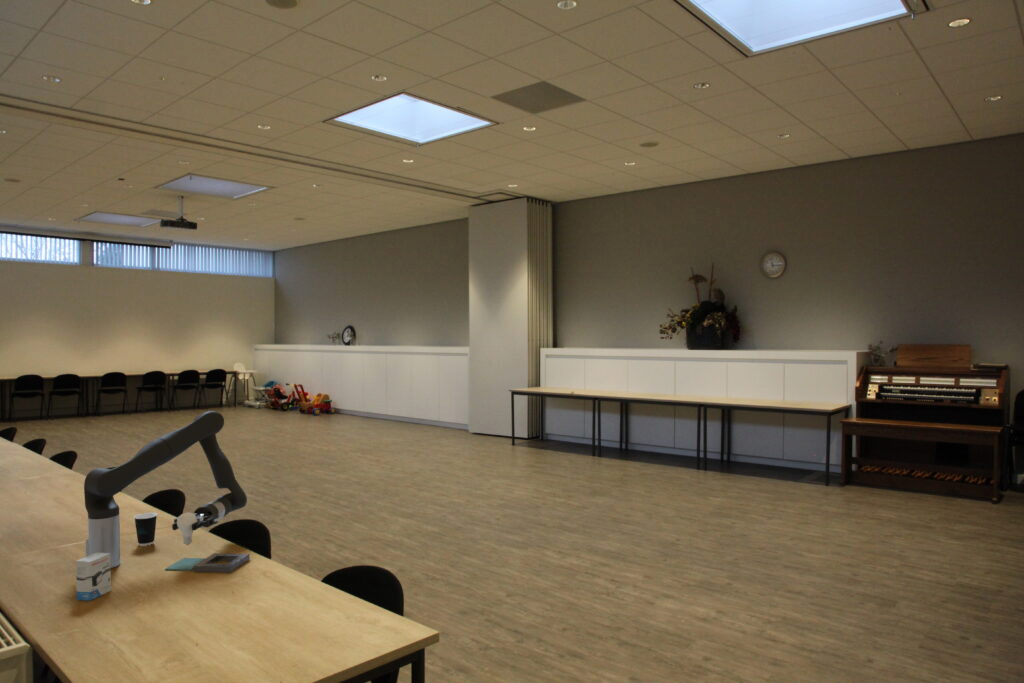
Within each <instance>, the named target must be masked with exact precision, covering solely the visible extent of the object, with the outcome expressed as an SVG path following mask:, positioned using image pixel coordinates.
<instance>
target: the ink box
mask: <svg viewBox="0 0 1024 683" xmlns="http://www.w3.org/2000/svg"><path fill="white" fill-rule="evenodd" d="M75 563H76V564H75V566H76V568H75V572H76V575H75V576H76V601H89V602H90V601H93V600H95V599H97V598H98V597H100V596H101V597H102V595H105V594H107V593H109V592H112V585H111V584H112V582H111V580H112V579H111V577H112V575H111V574H112V573H111V572H112V570H111V569H112V568H111V563H110V553H94V554H92V555H89V556H87V557H86V556H84V557H82V558H79V559H77V560H76V561H75Z"/></svg>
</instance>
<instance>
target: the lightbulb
mask: <svg viewBox="0 0 1024 683" xmlns="http://www.w3.org/2000/svg"><path fill="white" fill-rule="evenodd" d="M193 513H194V512H189V511H188V512H183V513H182V514H180V515H179V516H178V517H179V518H178V519H177V526H178V528H179V529H178V530H179V531H180V532H181V535H182V538H183V539H182V540H183V544H184V545H187V546H189V545H191V543H193V533H194V530H192V524H193V523H195V522H197V517H196V516H195V515H194V514H193Z"/></svg>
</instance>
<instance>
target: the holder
mask: <svg viewBox="0 0 1024 683" xmlns="http://www.w3.org/2000/svg"><path fill="white" fill-rule="evenodd" d="M248 560H249V561H250V554H249V553H224V552H223V553H212V554H210V555H209V556H207V557H206V559H204V560H202V561H201V562H199V563H197V564H196V565H194V566H193V570H192V572H194V573H218V574H219V573H223V574H224V573H226V574H227V573H228V574H232V573H233V572H234V571H236V570H237V569H239V568H240V567H241V566H243V565H245V564H246V563H247V562H249V561H248ZM217 561H231V562H227V563H217ZM246 561H247V562H246ZM215 562H216V563H215ZM245 562H246V563H245ZM242 564H243V565H242ZM239 566H240V567H239ZM238 567H239V568H238ZM236 568H237V569H236ZM235 569H236V570H235ZM232 571H233V572H232Z"/></svg>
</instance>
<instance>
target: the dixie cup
mask: <svg viewBox="0 0 1024 683" xmlns="http://www.w3.org/2000/svg"><path fill="white" fill-rule="evenodd" d="M157 518H158V513H157V512H144V513H139V514H136V515H134V516H133V519H134V524H135V530H136V538H137V543H138V546H139V545H140V546H139V547H148V546H147V545H149V546H152V545H154V541H155V538H156V537H155V536H156V527H157V526H156V525H157ZM151 544H152V545H151Z"/></svg>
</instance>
